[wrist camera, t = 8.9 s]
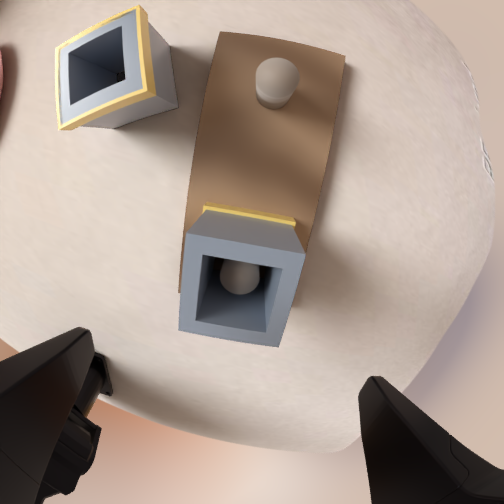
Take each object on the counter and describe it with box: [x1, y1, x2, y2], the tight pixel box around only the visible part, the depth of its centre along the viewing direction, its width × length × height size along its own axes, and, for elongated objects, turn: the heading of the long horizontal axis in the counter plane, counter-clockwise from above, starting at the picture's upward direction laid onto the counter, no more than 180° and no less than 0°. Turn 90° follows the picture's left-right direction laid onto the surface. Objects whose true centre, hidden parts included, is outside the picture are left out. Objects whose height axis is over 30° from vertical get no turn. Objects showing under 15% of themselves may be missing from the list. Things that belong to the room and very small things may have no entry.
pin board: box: [178, 32, 345, 295], centre depth 14 cm, size 18×8×5 cm, turn 170°
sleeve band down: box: [178, 202, 306, 347], centre depth 15 cm, size 5×5×6 cm
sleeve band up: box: [55, 5, 179, 130], centre depth 12 cm, size 5×5×6 cm
